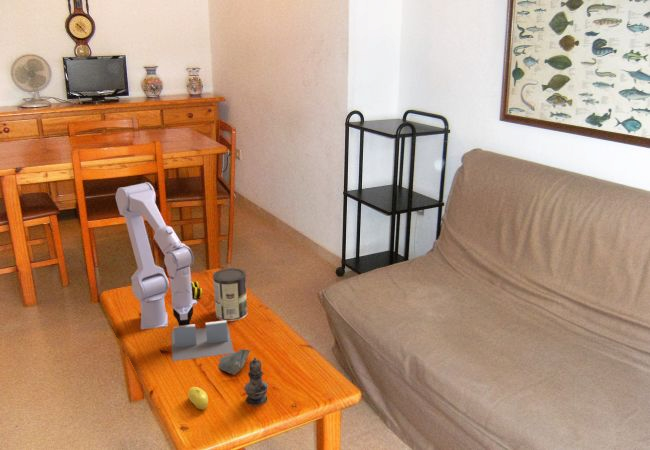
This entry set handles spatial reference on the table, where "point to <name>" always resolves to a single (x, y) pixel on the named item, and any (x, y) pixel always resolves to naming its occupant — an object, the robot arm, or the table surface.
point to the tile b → (216, 331)
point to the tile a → (185, 335)
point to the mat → (201, 347)
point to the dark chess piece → (256, 385)
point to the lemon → (198, 397)
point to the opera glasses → (196, 290)
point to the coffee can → (230, 294)
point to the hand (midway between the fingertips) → (184, 331)
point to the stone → (233, 361)
